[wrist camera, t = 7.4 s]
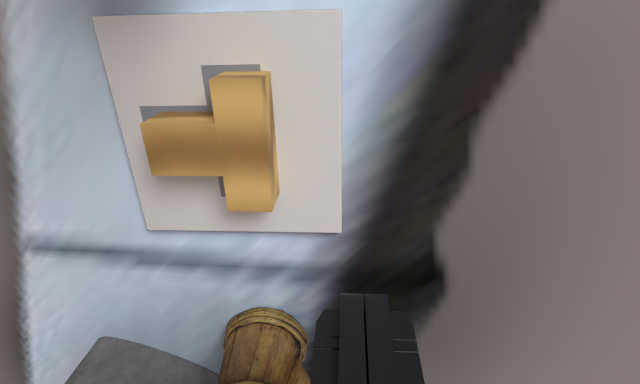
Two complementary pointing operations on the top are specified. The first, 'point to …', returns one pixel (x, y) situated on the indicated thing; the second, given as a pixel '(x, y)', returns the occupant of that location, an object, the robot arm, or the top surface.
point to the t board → (194, 96)
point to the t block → (223, 141)
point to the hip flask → (136, 366)
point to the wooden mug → (264, 349)
